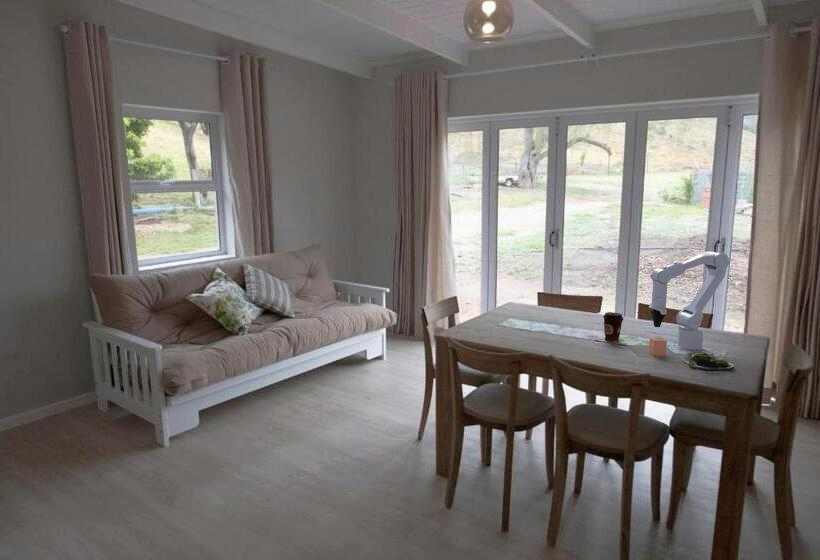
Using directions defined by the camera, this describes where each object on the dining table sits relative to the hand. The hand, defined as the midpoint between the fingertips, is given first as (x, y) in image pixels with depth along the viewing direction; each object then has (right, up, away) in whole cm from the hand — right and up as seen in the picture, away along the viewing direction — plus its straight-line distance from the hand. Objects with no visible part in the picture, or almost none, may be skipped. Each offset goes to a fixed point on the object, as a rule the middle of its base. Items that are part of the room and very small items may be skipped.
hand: (657, 326), depth 241 cm
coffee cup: (-15, -8, +14) cm, 22 cm away
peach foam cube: (-3, -11, -7) cm, 13 cm away
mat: (-3, -11, -3) cm, 11 cm away
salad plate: (+11, -14, -20) cm, 27 cm away
